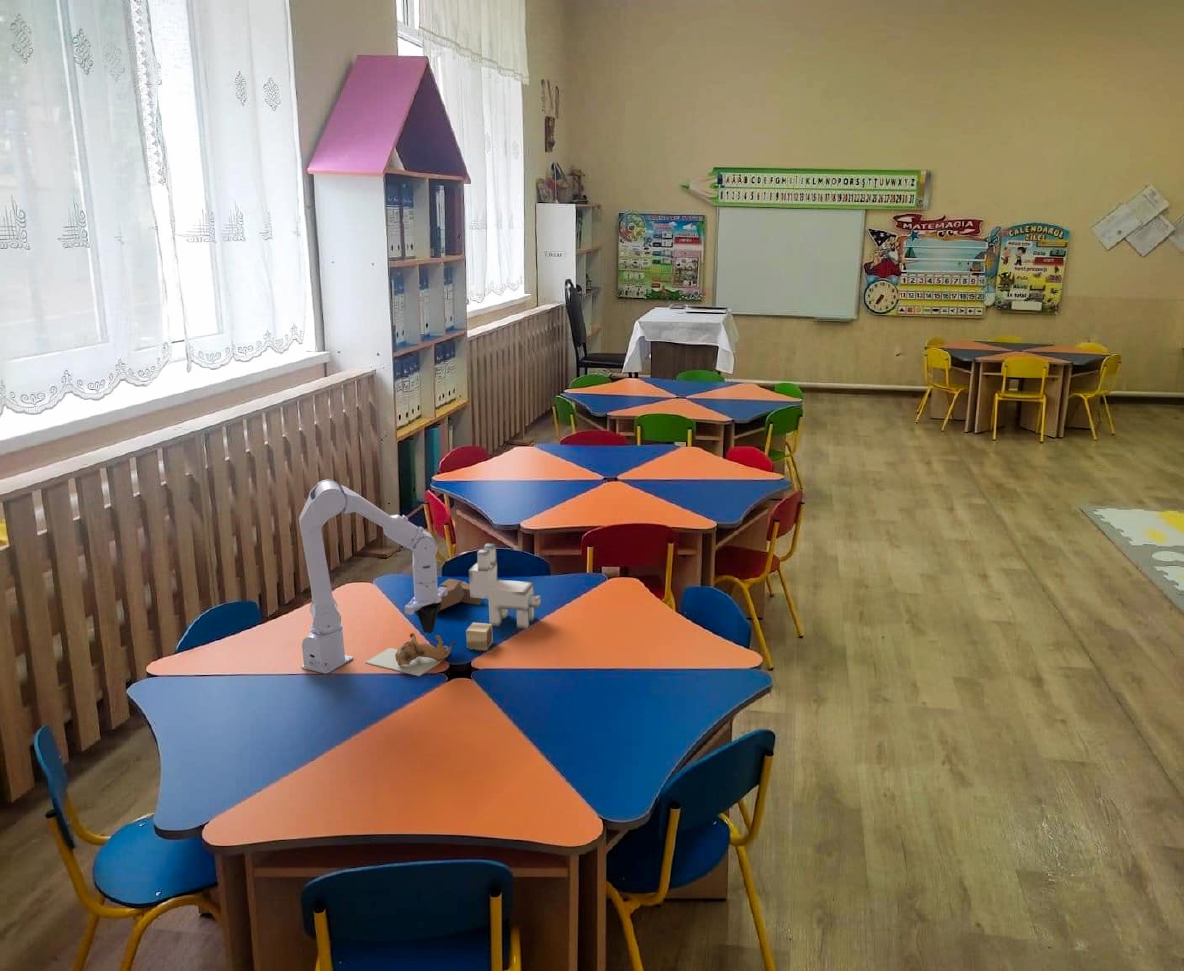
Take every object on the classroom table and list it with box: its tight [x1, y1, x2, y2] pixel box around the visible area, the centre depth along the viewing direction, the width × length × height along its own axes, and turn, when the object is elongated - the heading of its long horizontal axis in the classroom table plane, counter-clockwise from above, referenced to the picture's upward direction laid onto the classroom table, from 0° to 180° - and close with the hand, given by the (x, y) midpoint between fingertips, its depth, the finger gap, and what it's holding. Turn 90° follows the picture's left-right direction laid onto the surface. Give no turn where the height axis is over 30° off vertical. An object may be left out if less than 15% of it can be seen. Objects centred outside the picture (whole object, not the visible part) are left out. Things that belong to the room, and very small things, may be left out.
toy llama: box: [468, 542, 541, 630], centre depth 253 cm, size 8×18×20 cm, turn 76°
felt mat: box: [365, 647, 443, 677], centre depth 232 cm, size 9×16×1 cm, turn 62°
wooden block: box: [439, 578, 483, 612], centre depth 268 cm, size 8×13×18 cm
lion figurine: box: [395, 632, 457, 666], centre depth 232 cm, size 15×5×9 cm
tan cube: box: [465, 622, 494, 651], centre depth 241 cm, size 5×5×5 cm
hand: (428, 631), depth 240 cm, fingers closed
